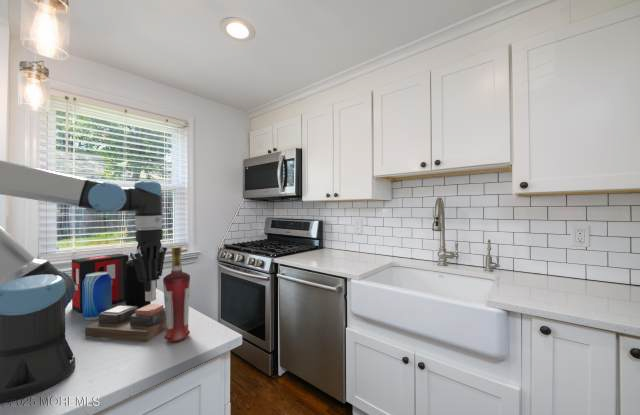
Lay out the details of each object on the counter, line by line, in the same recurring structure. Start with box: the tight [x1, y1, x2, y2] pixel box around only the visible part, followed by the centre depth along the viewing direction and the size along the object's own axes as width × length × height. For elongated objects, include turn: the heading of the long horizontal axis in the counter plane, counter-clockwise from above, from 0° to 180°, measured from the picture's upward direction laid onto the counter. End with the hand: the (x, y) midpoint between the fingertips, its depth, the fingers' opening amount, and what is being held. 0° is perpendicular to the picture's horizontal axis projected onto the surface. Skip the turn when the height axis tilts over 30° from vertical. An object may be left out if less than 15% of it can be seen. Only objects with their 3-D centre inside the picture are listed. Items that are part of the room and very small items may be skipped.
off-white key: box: [104, 305, 133, 314], centre depth 90 cm, size 5×5×2 cm
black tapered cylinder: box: [124, 259, 152, 309], centre depth 107 cm, size 9×9×20 cm
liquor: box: [162, 246, 191, 343], centre depth 82 cm, size 7×7×28 cm
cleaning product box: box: [71, 253, 130, 314], centre depth 113 cm, size 16×9×20 cm, turn 148°
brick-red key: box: [136, 303, 164, 316], centre depth 88 cm, size 5×5×2 cm
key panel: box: [84, 304, 166, 343], centre depth 89 cm, size 14×22×6 cm, turn 80°
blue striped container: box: [82, 272, 113, 321], centre depth 100 cm, size 8×8×16 cm
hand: (150, 300), depth 88 cm, fingers closed
